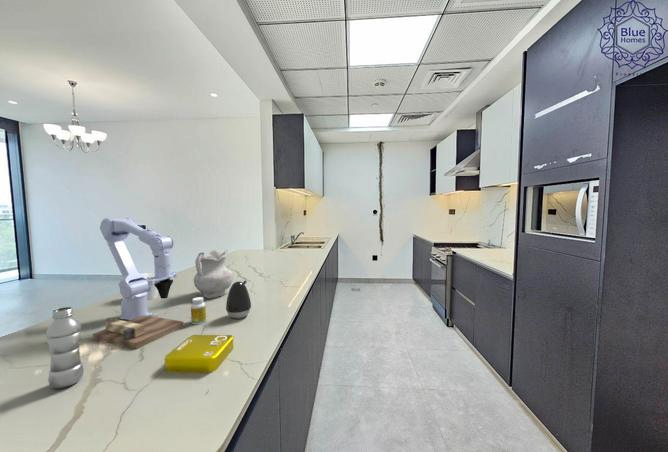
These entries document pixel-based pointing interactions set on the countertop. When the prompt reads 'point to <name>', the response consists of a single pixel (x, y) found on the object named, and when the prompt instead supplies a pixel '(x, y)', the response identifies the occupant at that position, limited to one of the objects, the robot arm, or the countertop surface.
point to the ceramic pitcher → (212, 274)
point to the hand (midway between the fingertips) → (164, 297)
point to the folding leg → (123, 326)
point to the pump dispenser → (238, 300)
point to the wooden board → (153, 331)
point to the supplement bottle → (198, 311)
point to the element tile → (199, 354)
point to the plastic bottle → (64, 349)
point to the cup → (153, 291)
